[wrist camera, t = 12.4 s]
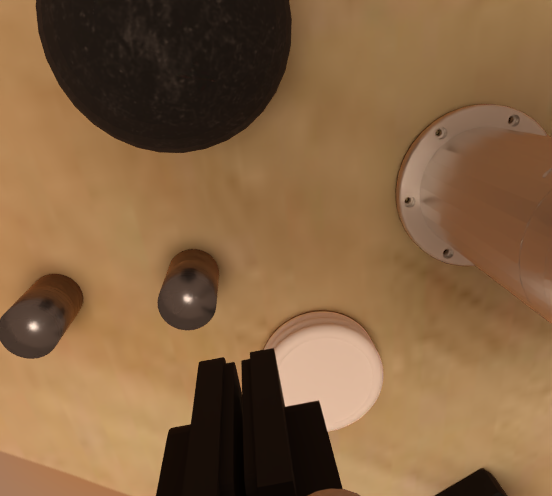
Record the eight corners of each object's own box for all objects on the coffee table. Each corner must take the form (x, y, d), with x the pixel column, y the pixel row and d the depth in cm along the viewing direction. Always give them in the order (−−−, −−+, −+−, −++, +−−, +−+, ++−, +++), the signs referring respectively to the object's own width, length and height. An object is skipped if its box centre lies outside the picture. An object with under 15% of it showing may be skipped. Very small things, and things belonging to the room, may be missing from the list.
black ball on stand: (224, 169, 39) (217, 220, 24) (56, 77, 36) (-62, 76, 22) (313, 3, 36) (366, -48, 21) (138, -112, 33) (64, -258, 18)
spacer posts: (238, 240, 40) (239, 266, 35) (282, 463, 47) (288, 516, 42) (24, 278, 40) (-11, 311, 34) (100, 498, 47) (81, 555, 41)
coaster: (294, 427, 47) (299, 454, 43) (238, 344, 44) (239, 366, 40) (392, 376, 46) (405, 399, 42) (342, 288, 43) (351, 305, 39)
